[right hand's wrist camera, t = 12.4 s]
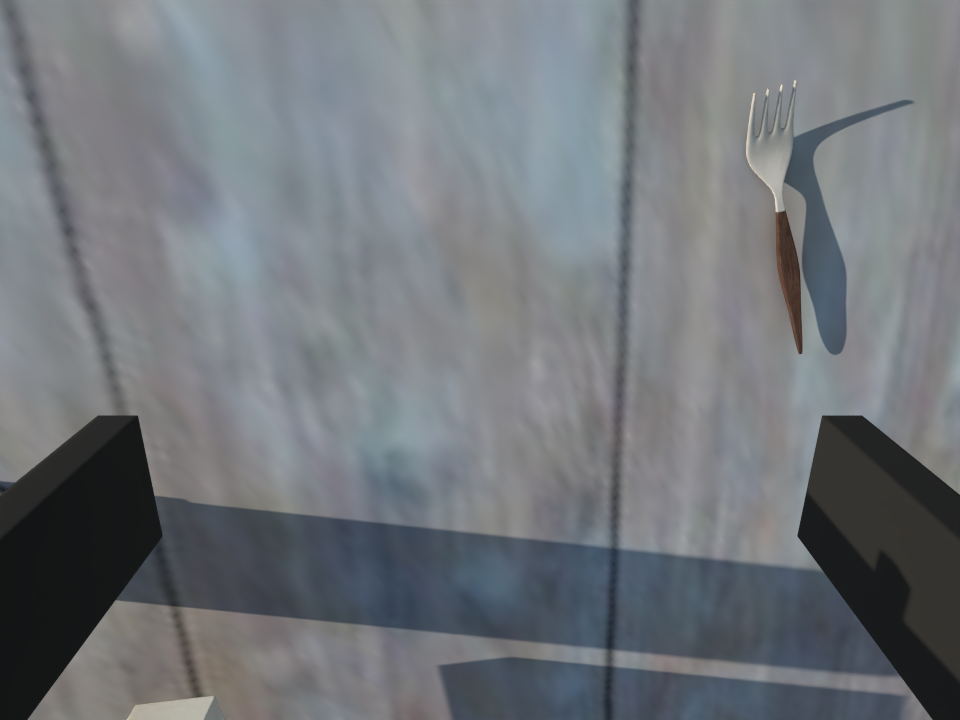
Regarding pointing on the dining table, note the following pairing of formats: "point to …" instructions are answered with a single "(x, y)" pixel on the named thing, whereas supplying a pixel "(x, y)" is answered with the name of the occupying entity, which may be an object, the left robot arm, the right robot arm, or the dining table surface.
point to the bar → (179, 710)
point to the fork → (778, 197)
